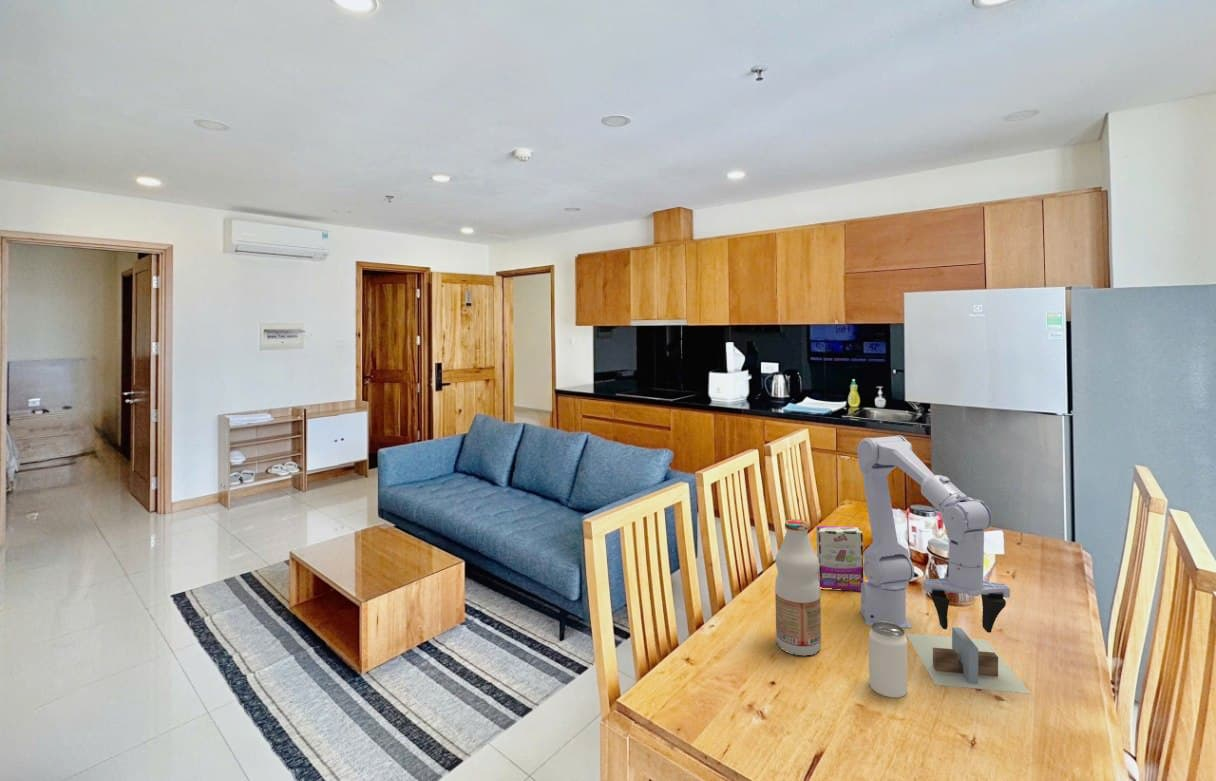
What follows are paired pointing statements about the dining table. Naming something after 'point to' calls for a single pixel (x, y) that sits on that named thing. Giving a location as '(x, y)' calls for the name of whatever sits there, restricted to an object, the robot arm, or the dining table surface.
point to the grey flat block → (966, 654)
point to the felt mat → (1001, 683)
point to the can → (888, 659)
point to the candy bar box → (840, 557)
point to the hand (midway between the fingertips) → (964, 628)
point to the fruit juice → (798, 592)
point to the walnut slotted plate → (949, 663)
